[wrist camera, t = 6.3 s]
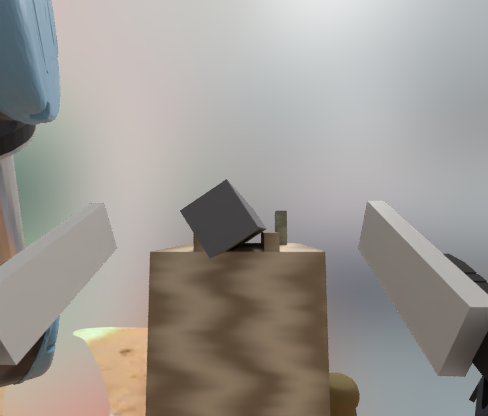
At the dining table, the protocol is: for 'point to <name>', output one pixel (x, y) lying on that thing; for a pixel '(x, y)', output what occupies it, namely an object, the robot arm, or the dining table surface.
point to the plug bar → (222, 219)
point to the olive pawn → (343, 395)
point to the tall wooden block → (238, 330)
